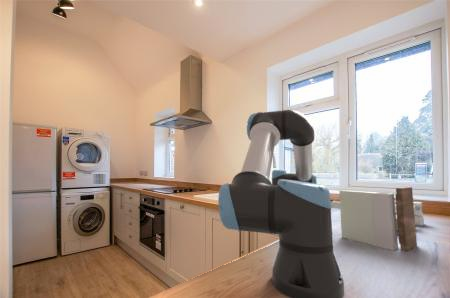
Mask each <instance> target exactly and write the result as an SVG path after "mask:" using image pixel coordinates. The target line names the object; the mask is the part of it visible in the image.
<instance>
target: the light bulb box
mask: <svg viewBox="0 0 450 298" xmlns="http://www.w3.org/2000/svg"><path fill="white" fill-rule="evenodd" d="M395 204H396V200H395ZM413 204H414V206H415V207H414V216H415V226H419V227H420V226H421V227H423V226H424V225H425V221H424V220H425V219H424V211H423V202H422V201H413Z"/></svg>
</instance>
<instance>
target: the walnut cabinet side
mask: <svg viewBox="0 0 450 298" xmlns="http://www.w3.org/2000/svg"><path fill="white" fill-rule="evenodd" d="M395 192H396V193H394V197H395V201H396V209H397V222H398V229H397V236H398V245H400V251H402V252H408V251H411V250H412V249H414V248H415V247H417V246H418V242H417V229H416V228H417V227H416V225H415V216H414V204H413V202H414V195H413V187H412V186H403V187H395Z"/></svg>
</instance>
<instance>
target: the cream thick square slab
mask: <svg viewBox="0 0 450 298" xmlns="http://www.w3.org/2000/svg"><path fill="white" fill-rule="evenodd" d="M395 201H396V199H395V193H392V192H391V193H390V192H380V191H379V192H374V191H360V190H347V189H343V190H341V189H340V190H339V202H340V209H339V210H340V227H341V228H340V229H341V238H344V239H347V240H351V241H356V242H360V243H362V244H363V243H364V244H368V245H372V246H375V247H378V248H382V249H386V250H390V251H394V250H396V249H398V248H399V239H398V229H397V227H396V213H395Z"/></svg>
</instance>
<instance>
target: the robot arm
mask: <svg viewBox="0 0 450 298" xmlns="http://www.w3.org/2000/svg"><path fill="white" fill-rule="evenodd" d="M246 133H247V137H248V139H249V141H250V143H249V146H248V150H247V153H246V155H245V159H244V162H243V164H242V168H241V171H240V172H238V173H236V174H235V175H234V177H233V178H232V181H231V183H228V182H227V183H223V184H222V185H221V186H220V188H219V192H218V199H217V202H218V203H217V205H218V213H219V219H220V221H221V224H222V225H223V226H224V228H226V229H228V230H234V231H238V232H241V231H242V232H251V233H252V232H253V233H263V234H271V235H278V237H279V238H278V239H279V241H278V242H279V243H278V244H279V246H278V250H277V253H276V256H275V260H274V264H273V266H272V274H271V275H272V277H271V278H272V283H273V286H274V287H275V288H276V290H278V291H279V292H280V293H282V294H283V295H285V296H287V297H289V298H343V297H344V295H345V282H344V278H343V276H342V273H341V271H340V268H339V265H338V263H337V259H336V257H335V254H334V246H333V245H334V244H333V243H334V240H333V224H332V209H338V210H340V201H334V200H333V199H331V193H330V189H329V188H327V187H326V186H325V185H323V184H318V183H317V182H318V181H317V174H316V173H313V143H314V141H315V130H314V127H313V125H312V122H311V121H310V120H309V119H308V118H307V117H306V116H305V115H304V114H303V113H301V112H299V111H297V110H293V109H284V110H276V111H265V112H263V111H262V112H261V111H260V112H259V111H258V112H255V113H252V114H250V116H248V119H247V125H246ZM285 140H286V141H287V140H289V141H290V143H291V144H292V149H293V157H294V168H295V170H294V171H295V173H291V172H290V173H288V172H287V170H286V169H274V170H272V171H271V169H272V163H273V157H274V152H275V151H274V150H275V147H276V146H277V145H278V144H279V142H280V141H285ZM270 174H271V180H270Z"/></svg>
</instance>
